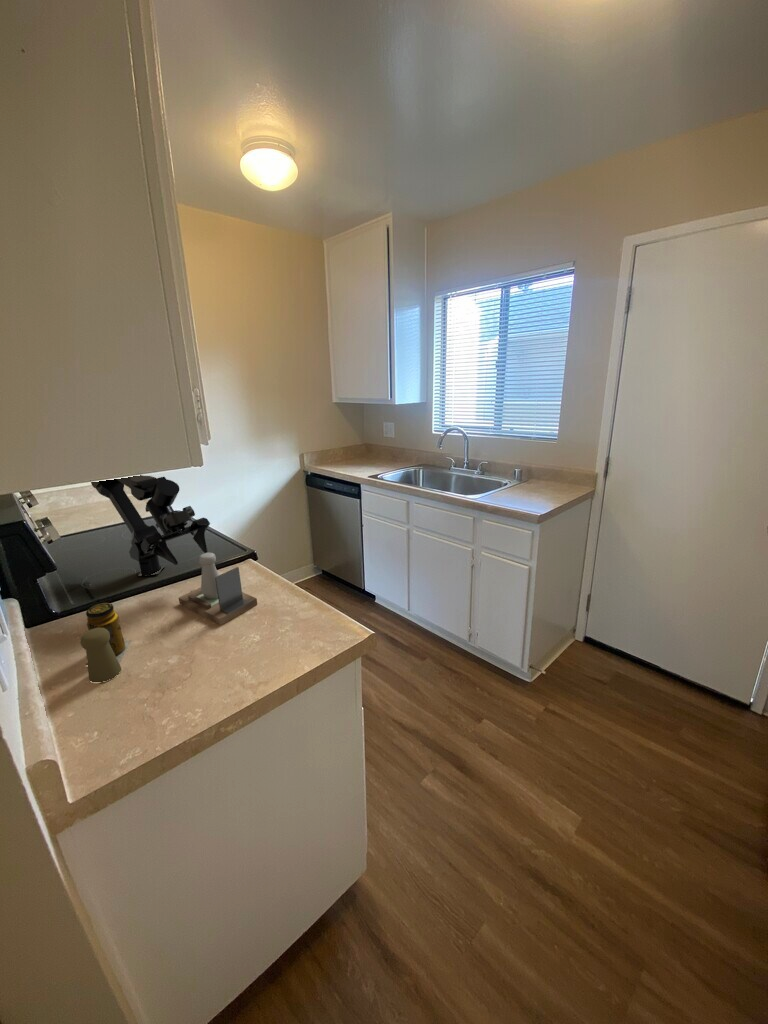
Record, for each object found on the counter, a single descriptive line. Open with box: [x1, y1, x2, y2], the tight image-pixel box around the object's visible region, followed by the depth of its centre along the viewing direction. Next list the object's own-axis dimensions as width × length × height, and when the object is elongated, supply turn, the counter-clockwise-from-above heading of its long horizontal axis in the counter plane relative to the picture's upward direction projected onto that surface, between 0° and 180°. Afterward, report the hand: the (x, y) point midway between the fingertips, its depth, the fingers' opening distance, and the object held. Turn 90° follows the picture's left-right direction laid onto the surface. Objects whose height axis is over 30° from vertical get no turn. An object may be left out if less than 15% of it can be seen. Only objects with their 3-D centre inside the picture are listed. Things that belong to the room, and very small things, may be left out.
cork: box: [79, 628, 122, 682], centre depth 89 cm, size 6×6×11 cm
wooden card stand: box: [178, 586, 258, 626], centre depth 117 cm, size 19×12×3 cm, turn 56°
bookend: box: [215, 566, 250, 614], centre depth 111 cm, size 3×7×10 cm, turn 146°
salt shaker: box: [198, 552, 220, 600], centre depth 115 cm, size 6×6×13 cm
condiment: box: [85, 602, 132, 665], centre depth 95 cm, size 7×8×12 cm
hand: (192, 558), depth 118 cm, fingers open, 9 cm apart
